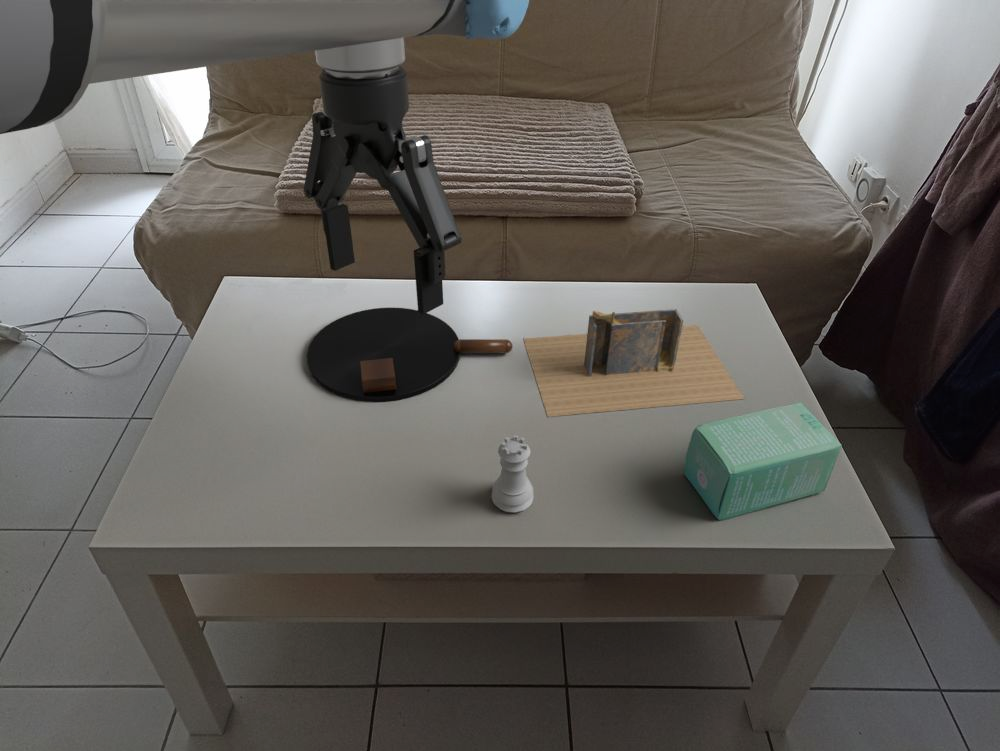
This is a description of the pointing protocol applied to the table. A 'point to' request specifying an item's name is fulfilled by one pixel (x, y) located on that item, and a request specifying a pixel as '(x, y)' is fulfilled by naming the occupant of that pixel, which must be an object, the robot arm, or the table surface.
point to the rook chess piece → (513, 477)
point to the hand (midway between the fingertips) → (384, 286)
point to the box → (760, 459)
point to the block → (378, 375)
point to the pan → (390, 352)
